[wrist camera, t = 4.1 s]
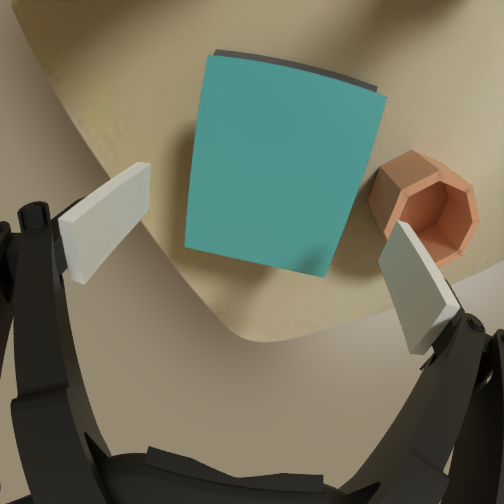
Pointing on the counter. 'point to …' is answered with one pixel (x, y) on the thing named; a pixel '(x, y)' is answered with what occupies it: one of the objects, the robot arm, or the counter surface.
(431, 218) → the cup
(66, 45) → the counter surface
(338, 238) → the board
